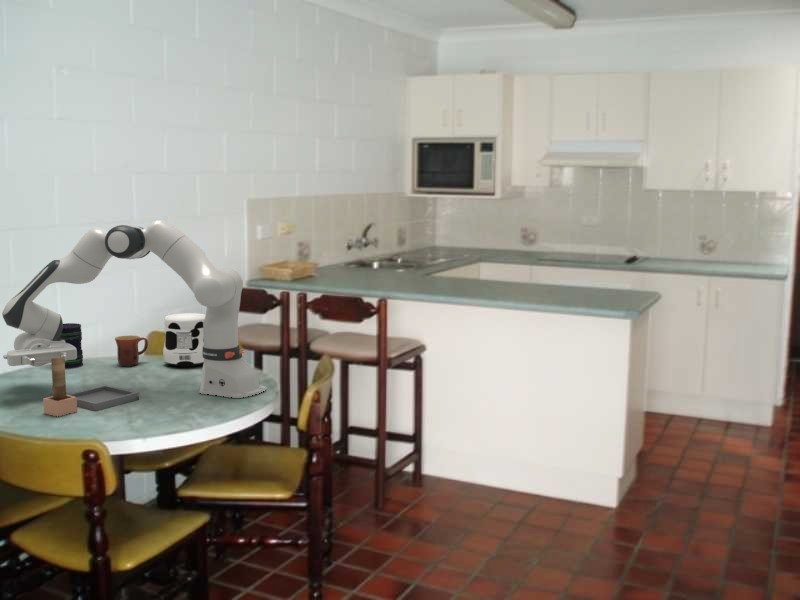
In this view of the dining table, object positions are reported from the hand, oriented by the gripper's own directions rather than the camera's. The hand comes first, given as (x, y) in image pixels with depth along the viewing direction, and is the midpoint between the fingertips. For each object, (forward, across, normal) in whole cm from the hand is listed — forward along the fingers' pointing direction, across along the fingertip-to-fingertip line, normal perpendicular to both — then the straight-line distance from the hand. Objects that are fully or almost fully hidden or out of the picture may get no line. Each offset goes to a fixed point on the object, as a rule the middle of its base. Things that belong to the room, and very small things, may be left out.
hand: (48, 360), depth 262 cm
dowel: (+13, 0, +13) cm, 18 cm away
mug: (-38, +39, +14) cm, 56 cm away
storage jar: (-49, +19, +14) cm, 54 cm away
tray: (+7, +14, +13) cm, 20 cm away
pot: (+13, 0, +13) cm, 18 cm away
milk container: (-27, +56, +13) cm, 63 cm away
